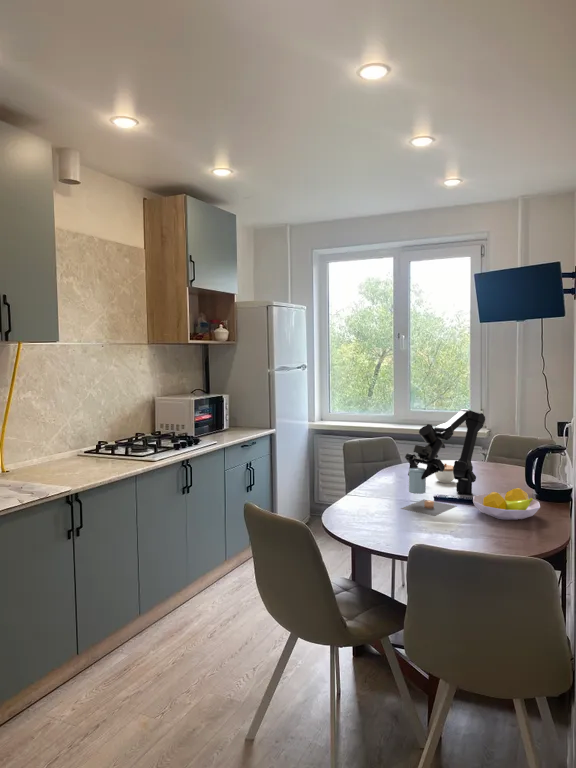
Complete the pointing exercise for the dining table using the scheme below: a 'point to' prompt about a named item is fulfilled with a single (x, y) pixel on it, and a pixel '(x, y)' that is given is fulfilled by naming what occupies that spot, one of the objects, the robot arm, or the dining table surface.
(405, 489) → the dining table surface
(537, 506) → the fruit bowl
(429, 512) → the placemat
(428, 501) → the tan rounded pebble
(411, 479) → the dome-topped octagonal prism
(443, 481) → the lidded jar
